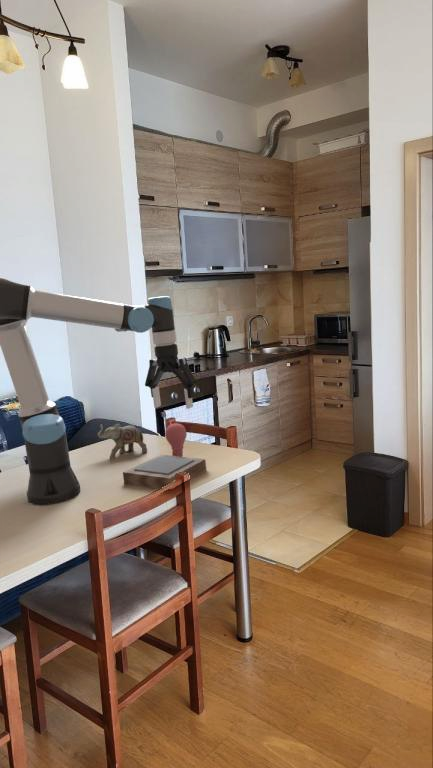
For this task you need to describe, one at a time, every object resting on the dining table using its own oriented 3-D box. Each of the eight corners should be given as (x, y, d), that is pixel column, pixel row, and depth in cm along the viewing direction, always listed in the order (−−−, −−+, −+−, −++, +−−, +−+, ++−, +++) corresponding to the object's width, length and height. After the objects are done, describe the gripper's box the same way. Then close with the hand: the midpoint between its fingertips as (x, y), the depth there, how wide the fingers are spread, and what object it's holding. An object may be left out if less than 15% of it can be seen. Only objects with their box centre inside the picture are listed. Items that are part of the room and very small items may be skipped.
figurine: (113, 461, 211) (99, 422, 210) (150, 449, 210) (136, 410, 209) (107, 467, 202) (92, 427, 200) (145, 454, 200) (131, 414, 199)
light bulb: (190, 454, 197) (186, 420, 195) (187, 460, 191) (183, 425, 188) (170, 455, 198) (166, 421, 196) (166, 461, 191) (162, 427, 189)
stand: (124, 483, 174) (122, 470, 173) (161, 465, 188) (160, 453, 188) (170, 490, 164) (169, 476, 163) (206, 470, 178) (205, 457, 178)
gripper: (203, 341, 184) (210, 405, 188) (144, 343, 198) (152, 403, 202) (189, 344, 178) (197, 411, 181) (129, 347, 192) (137, 408, 195)
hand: (173, 407), depth 192 cm, fingers open, 13 cm apart
